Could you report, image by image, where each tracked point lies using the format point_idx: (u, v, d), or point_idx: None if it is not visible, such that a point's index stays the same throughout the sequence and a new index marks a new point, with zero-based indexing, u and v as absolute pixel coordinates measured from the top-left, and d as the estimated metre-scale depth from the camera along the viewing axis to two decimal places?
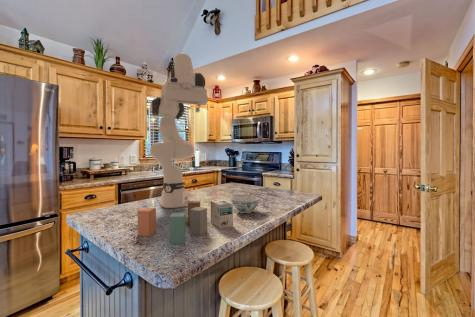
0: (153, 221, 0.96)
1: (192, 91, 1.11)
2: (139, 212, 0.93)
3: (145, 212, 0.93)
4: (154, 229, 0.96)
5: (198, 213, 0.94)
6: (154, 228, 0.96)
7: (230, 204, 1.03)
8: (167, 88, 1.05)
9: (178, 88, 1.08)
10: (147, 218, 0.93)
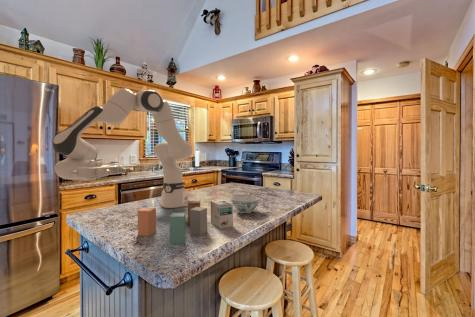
0: (153, 221, 0.96)
1: None
2: (139, 212, 0.93)
3: (145, 212, 0.93)
4: (154, 229, 0.96)
5: (198, 213, 0.94)
6: (154, 228, 0.96)
7: (230, 204, 1.03)
8: None
9: None
10: (147, 218, 0.93)
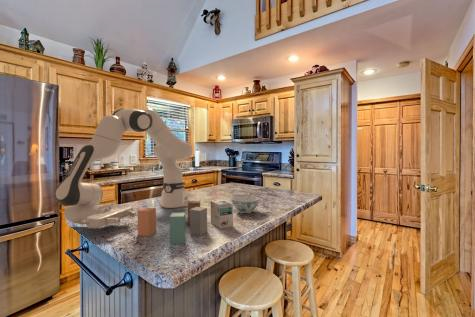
0: (153, 221, 0.96)
1: None
2: (139, 212, 0.93)
3: (145, 212, 0.93)
4: (154, 229, 0.96)
5: (197, 213, 0.94)
6: (154, 228, 0.96)
7: (230, 204, 1.03)
8: None
9: None
10: (147, 218, 0.93)
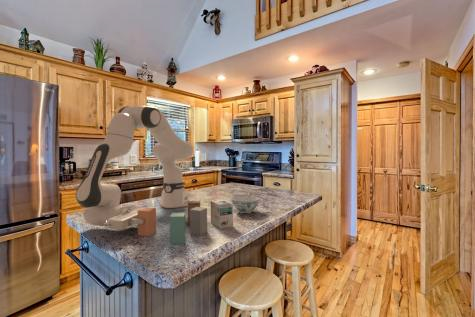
0: (153, 221, 0.96)
1: None
2: (139, 212, 0.93)
3: (145, 212, 0.93)
4: (154, 229, 0.96)
5: (198, 213, 0.94)
6: (154, 228, 0.96)
7: (230, 204, 1.03)
8: None
9: None
10: (147, 218, 0.93)
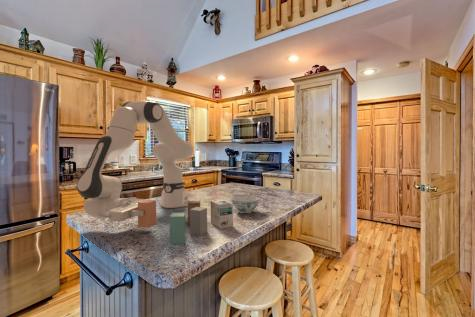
0: (153, 213, 0.96)
1: None
2: (139, 204, 0.93)
3: (145, 204, 0.93)
4: (154, 221, 0.97)
5: (198, 213, 0.94)
6: (154, 220, 0.96)
7: (230, 204, 1.03)
8: None
9: None
10: (147, 210, 0.93)
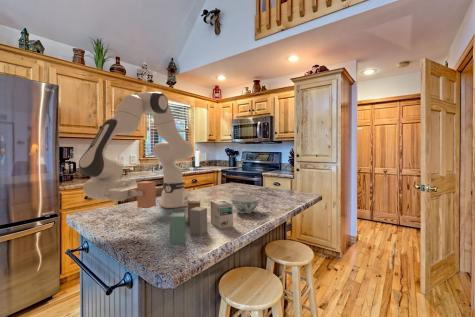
0: (153, 194, 0.95)
1: None
2: (139, 184, 0.93)
3: (145, 184, 0.92)
4: (154, 202, 0.96)
5: (198, 213, 0.94)
6: (154, 201, 0.96)
7: (230, 204, 1.03)
8: None
9: None
10: (146, 190, 0.92)
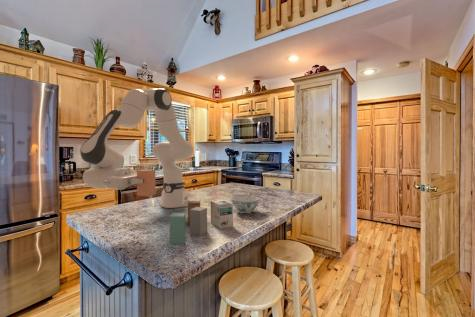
0: (152, 183, 0.95)
1: None
2: (138, 172, 0.93)
3: (144, 172, 0.92)
4: (153, 191, 0.96)
5: (198, 213, 0.94)
6: (153, 190, 0.96)
7: (230, 204, 1.03)
8: None
9: None
10: (146, 178, 0.92)
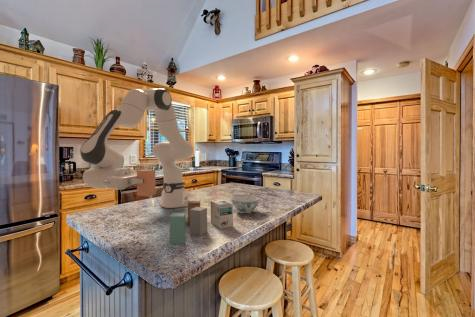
0: (152, 183, 0.95)
1: None
2: (138, 172, 0.93)
3: (144, 172, 0.92)
4: (153, 191, 0.96)
5: (198, 213, 0.94)
6: (153, 190, 0.96)
7: (230, 204, 1.03)
8: None
9: None
10: (146, 178, 0.92)
